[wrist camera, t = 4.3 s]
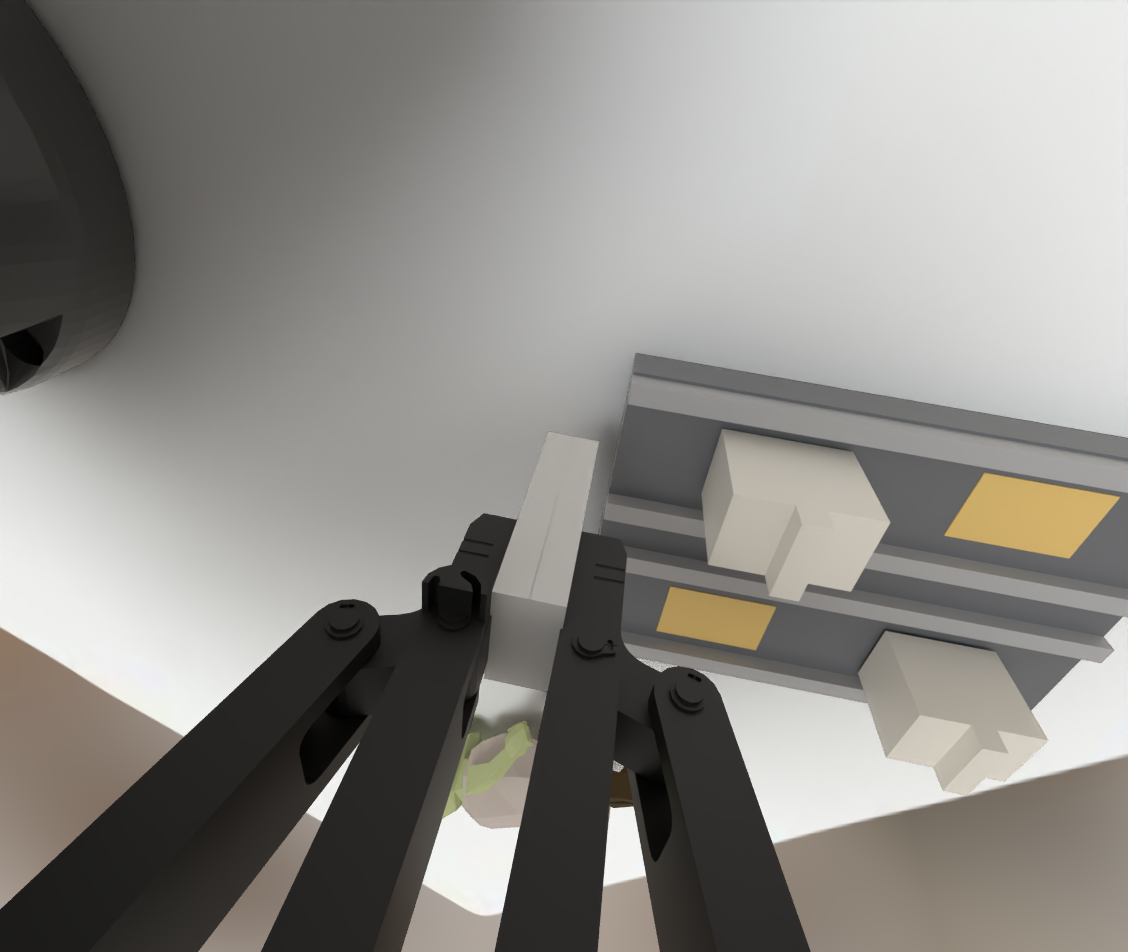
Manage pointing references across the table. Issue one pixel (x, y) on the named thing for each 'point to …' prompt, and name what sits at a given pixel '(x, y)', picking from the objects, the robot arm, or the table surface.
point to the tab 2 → (948, 710)
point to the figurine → (507, 779)
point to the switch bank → (906, 550)
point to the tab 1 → (790, 513)
